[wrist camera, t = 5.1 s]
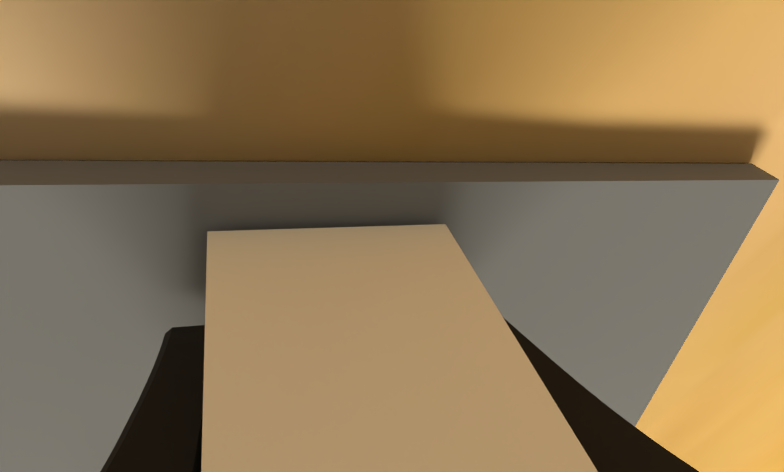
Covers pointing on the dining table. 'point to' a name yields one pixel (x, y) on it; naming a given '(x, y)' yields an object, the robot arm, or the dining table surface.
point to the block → (367, 359)
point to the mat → (344, 209)
